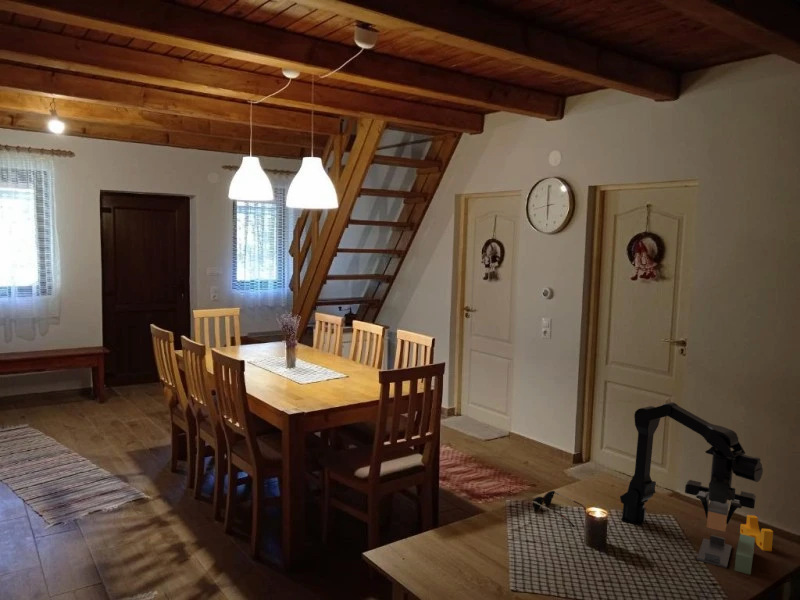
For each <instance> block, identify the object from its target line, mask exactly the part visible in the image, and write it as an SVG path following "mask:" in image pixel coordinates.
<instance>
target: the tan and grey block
mask: <svg viewBox="0 0 800 600" xmlns="http://www.w3.org/2000/svg"><path fill="white" fill-rule="evenodd" d="M729 508H730V505H729V503H728V502H727V503H725V504H722V503H720V502H716V501H710V500H709V508H708V517H707V518H706V528H708V529H713V530H716V531H721V532H723V533H724V532H726V529H727V525H728V524H726V523H727V516H728V512H729Z"/></svg>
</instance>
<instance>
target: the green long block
mask: <svg viewBox="0 0 800 600" xmlns="http://www.w3.org/2000/svg"><path fill="white" fill-rule="evenodd" d="M755 545H756V543H755V537H751V536H747V535H743V534H741V533H739V539H738V542H737V544H736V547H735V553H734V554H735V555H734V560H735V562H734V564H735V565H734V571H735V572H738V573H742V574H746V575H750V576H751V573H752V567H753V566H752V565H753V559H754V551H755Z"/></svg>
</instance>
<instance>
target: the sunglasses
mask: <svg viewBox="0 0 800 600" xmlns="http://www.w3.org/2000/svg"><path fill="white" fill-rule="evenodd" d="M555 494H556V495H558V496H560V497H563V498H564V499H567V500H569V501H571V502H574V503H576V504H578V505H580V506H581V507H582V508H583V510H584V511H585V510H587V508H586V507H585V506H584V505H583V504H582V503H580V502H579V501H576V500H573V499H571V498H569V497H567V496H564V495H563V494H560V493H559V492H556V491H555V490H550V491H548V492H546V493H545V494H544V496H536V497H535V498H534V499H532V500H531V502H532V507H533V511H534V512H535V511H537V510H540V509H541V507H543V508H544V509H547V510H549V511H551V512H552V513H555V514H556V515H559V516H561V517H563V518H564V519H565V520H566V521H567V522H568V523H569V524H570V525H571V526H572V527H573V528H574V527H575V526H576V525H574V524H573V523H572V522H571V521H570V520H569V519H568V518H567V517H566V516H565V515H564V514H561V513H559V512H557V511H555V510H553V509H550V508H549V507H547V506H548V505H550V504H552V500H553V499H554V496H555ZM543 504H544V505H543Z"/></svg>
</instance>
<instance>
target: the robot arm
mask: <svg viewBox="0 0 800 600" xmlns="http://www.w3.org/2000/svg"><path fill="white" fill-rule="evenodd" d="M633 415H634V417H633V418H634V426H635V429H636V430H637V442H636V453H635V454H636V455H635V465H634V467H635V468H634V473H633V476H632V477H631V480H630V481H629V485H628V487H627V492H625V493H623V494H622V495H620V497H619V498H620V502H621V504H623V507H622V517H621V519H620V521H621V522H625V523H629V524H633V525H637V526H642V525H643V524H644V522H645V521H646V516H647V515H646V511H647V508H646V507H645V504H646V503H648V501H649V499H651V498H652V497H653V496H654V494H655V493H656V484H657V482H656V481H653V479H652V478H651V466H652V465H651V464H652V454H653V444H654V435H655V433H656V431H657V429H658V427H659V425H660V421H661V418H664V417H665V418H666V417H669V418H671V419H672V420H674V421H675V422H677V423H678V424H679V423H680V424H681V425H683V426H684V427H686V428H687V429H690V430H691V431H693V432H695V433H697V434H698V435H700V436H701V437H702V438H703V439H704V440H705V441H706V443H707V444H708V445H710V446H711V447H710V448H709V449H707V450H705V453H706V454H707V455H711V456H712V459H711V470H710V478H709V479H710V482H709V483H708V487H707V486H702V482H701V481H696V480H693V479H688V481H687V482H686V484H685V487H684V493H685V494H687V495H692V496H695V497H696V498H695V499H699V500H700V501H701V504H702V507H703V510H704V514H705V518H706V519H707V517H708V508H709V504H710V501H716V502H720V503H722V504H725V503H728V501H730V505H729V508H728V516H727V523H726V524H727V525H728V524H729V522H730V520H731V518H732V516H733V514H734V513H735V511H736V510H737V509H742V507H743V508H748V509H755V507H756V499H757V498H756V497H757V496H756V495H755V493H750V492H747V491H744V490H743V491H740V493H736V488H735V487H732V482H733V474H734V475H735V476H736V477H738V478H739V477H740V478H742V479H745V480H748V481H752V482H756V483H758V482H760V481H761V478H762V475H763V472H764V468H763V464H762V463H761V458H760V457H756V456H749V455H747V454H746V451H745V450H744V448H743V446H742V445H741V443H740V441H739V437H738V434H737V433H736V432H735V431H734V430H732V429H731V428H730V429H729V428H727V427H724V426H721V425H716V424H714V423H710V422H708V421H707V420H705V419H703V418H701V417H700V416H697V415H695V414H694V413H692V412H690V411H688V410H686V409H684V408H683V407H681V406H680V405H678V404H677V403H676V402H667V403H663V404H661V405H659V406H652V405H650V406H645V407H640V408H638V409H636V410H635V412H634V414H633ZM731 449H732V450H731Z"/></svg>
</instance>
